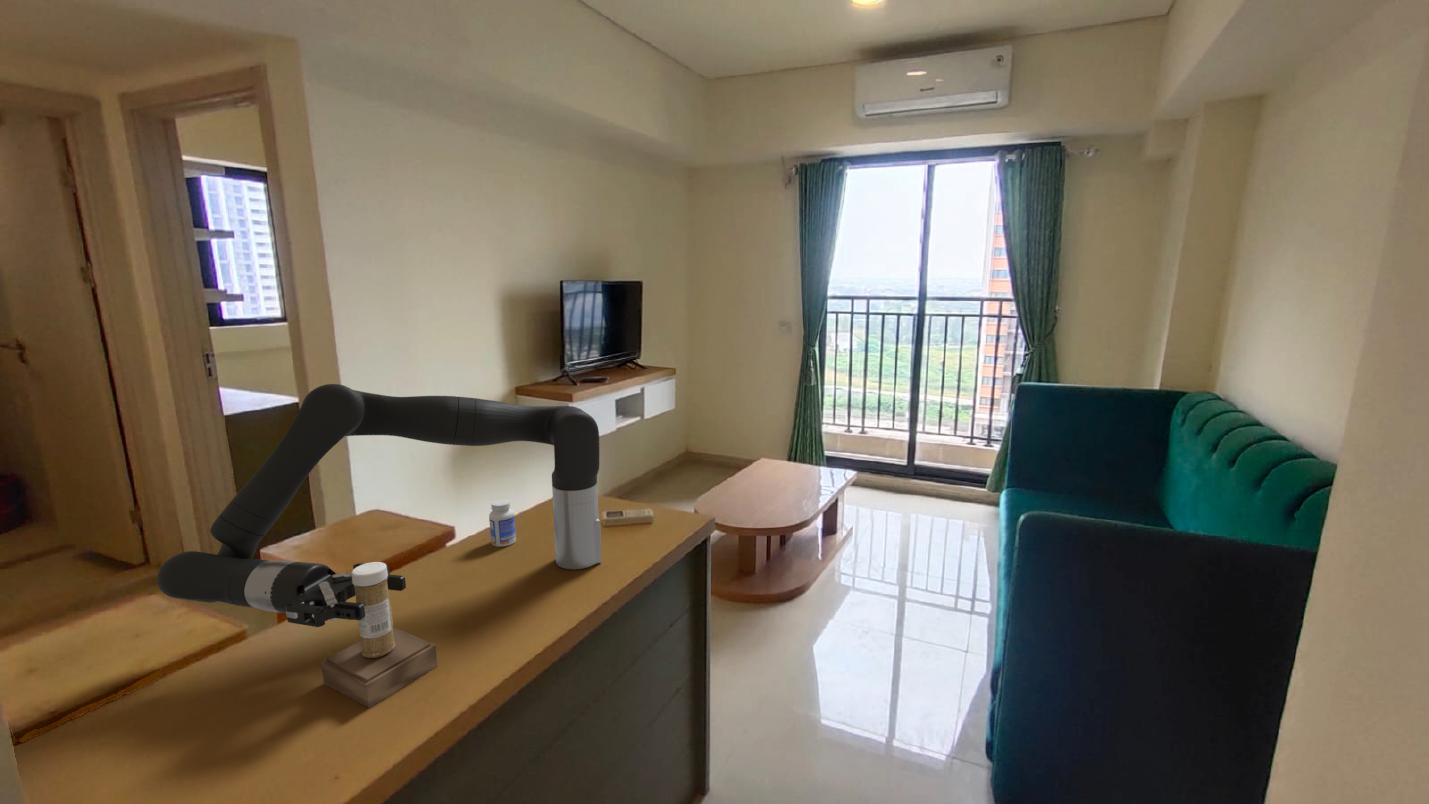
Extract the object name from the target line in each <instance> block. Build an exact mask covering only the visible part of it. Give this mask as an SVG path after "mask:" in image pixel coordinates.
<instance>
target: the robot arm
mask: <svg viewBox="0 0 1429 804" xmlns="http://www.w3.org/2000/svg"><path fill="white" fill-rule="evenodd" d="M352 436H355V437H356V436H357V437H358V436H388V437H389V436H391V437H399V438H405V439H411V440H415V441H421V442H426V443H433V444H441V445H447V446H448V445H450V446H452V445H453V446H465V447H466V446H468V447H481V446H482V447H484V446H485V447H486V446H493V445H499V444H506V443H511V442H531V443H539V444H546V445H551V446H553V452H554V454H553V455H554V458H553V459H554V470H553V471H552V473H551V489H552V490H551V491H552V493H551V494H552V509H553V528H554V530H553V531H554V547H555V548H554V553H555V564H556V565H557V566H558V567H559V568H562V569H565V570H582V569H587V568H590V567H592V566H595V565H597V564H602V539H601V538H602V536H601V534H602V533H601V520H600V518H599V501H598V500H599V498H598V493H599V492H598V474H599V471H600V432H599V426H598V424H597V422H596V419H595V418H593V417H592V415H590V414H588V413H587V412H586V411H584V410H583V409H581V408H579V407H576V406H573V405H559V406H558V405H553V406H552V405H551V406H550V405H547V406H546V405H545V406H543V405H542V406H541V405H540V406H539V405H537V406H535V405H534V406H531V405H520V404H515V403H510V402H504V401H497V400H490V399H483V398H477V397H469V396H468V397H466V396H455V395H418V396H417V395H416V396H415V395H414V396H392V395H383V394H378V393H371V392H365V391H360V390H355V389H352V388H350V387H348V386H346V385H344V384H339V383H337V384H336V383H327V384H323V385H320V386H317V387H315V388H313V389H312V390H311V391H310V392H308V393H307V395H306V396H305V397H304V399H303V401H302V404H301V407H300V408H299V410H298V412H297V414H296V416H295V417H294V419H293V421H292V423H291V425H290V426H289V429H288V430H287V432H285V434H284V436H283V438H282V439H281V440H280V442H279V443H278V445H277V446H276V447H275V449H274V450H273V451H272V453H271V454H270V455H269V457H268V458H267V459H266V460H265V461H264V462H263V464H262V465H261V466H260V467H259V468H258V469H257V471H256V472H254V474H253V475H252V476H251V477H250V478H249V479H248V481H247V482H245V484H244V485H243V486H242V487H241V489H240V490H239V491H238V492H237V493H236V494H235V496H234V497H233V498H232V500H230V502H229V503H228V504H227V506H226V507H225V508H224V509H223V510H222V511H221V512H220V514H219V516H217V518H216V519H215V520H214V522H213V523H212V524H211V527H210V530H209V531H210V534H211V536H212V537H213V538H214V539H215V540H217V542H219V543H221V545H220V549H219V550H218V552H217V554H215V553H209V552H203V551H198V550H197V551H195V550H191V551H190V550H189V551H183V552H179V553H177V554H175V555H173V556H171V557H170V558H168V559H167V560H166V561H165V562H163V564H161V566H160V568H159V570H158V572H157V575H156V581H157V582H156V583H157V586H158V588H159V590H160V592H162V593H163V594H164V595H165V596H168V597H170V598H172V599H178V600H180V599H181V600H185V601H186V600H187V601H194V602H202V603H208V604H209V603H218V602H221V603H224V604H229V605H233V606H239V607H245V608H255V609H259V610H262V611H265V612H273V613H280V614H281V613H282V614H286V620H287V623H289V624H290V623H291V624H297V625H303V626H307V627H314V628H321V627H324V626H325V625H326V621H327V622H328V621H331V622H333V621H337V620H338V619H339V620H340V619H341V620H348V621H351V620H352V621H358V620H361V619H363V618H364V617H365V609H364V605H363V604H361V603H356V602H351V601H348V600H349V599H352V598H356V595H355V587H354V584H353V583H352V571H353V570H354V569H355V568H356V567H358V566H360V565H363V564H364V563H361V562H360V563H354V564H353V565H352V571H349V572H341V573H340V572H339V573H337V572H335V571H334V570H332V568H331V567H330V566H328V565H326V564H322V563H314V562H305V561H297V560H295V561H293V560H284V559H283V560H282V559H281V560H267V559H258V558H257V559H256V558H254V555H255V553H256V551H257V548H258V546H259V543H260V542H261V540H262V539H263V538H264V537H265V535H266V534H267V533H268V532H269V530H270V529H272V527H273V525H274V524H275V523H276V521H278V520H279V518H280V516H281V515H282V514H283V512H284V511H285V509H287V507H288V506H289V504H290V503H291V501H292V500H293V498H294V496H295V495H296V494H297V493H298V490H299V489H300V487H301V486H302V484H303V483H304V481H305V480H306V478H307V477H308V476H309V474H310V473H311V472H312V470H313V469H314V468H315V467H316V465H317V464H318V463H319V462H320V461H321V460H322V459H323V458H324V457H325V455H326V454H327V453H328V452H329V451H331V449H332V448H334V447H335V446H336V444H338V443H339V442H340V441H341V440H342V439H344V438H345V437H352ZM386 566H387V572H388V577H387V578H388V579H387V585H388V591H395V592H397V591H399V592H402V591H403V590H405V589H406V587H407V584H406V583H407V582H406V577H405V576H404V575H399V574H398V575H397V574H391V573H390V565H388V564H386Z"/></svg>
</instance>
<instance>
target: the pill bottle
mask: <svg viewBox="0 0 1429 804" xmlns="http://www.w3.org/2000/svg"><path fill="white" fill-rule="evenodd" d="M490 509H491V510H492V511H490V513H489V515H488V519H489V520H488V521H489V532H490V543H491V545H492V546H494V547H497V548H499V547H500V548H501V547H504V548H505V547H508V546H510V545H513V544H515V542H516V541H517V536H516V535H517V533H516V524H515V523H516V522H515V511H514V510H513V509H512V508H511V502H510V500H509V499H497V500H494V501H492V502H491V508H490Z"/></svg>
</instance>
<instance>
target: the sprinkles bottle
mask: <svg viewBox="0 0 1429 804" xmlns="http://www.w3.org/2000/svg"><path fill="white" fill-rule="evenodd" d="M362 564H363V565H360V566H358V567H356V568H355V569H354V570H353V569H352V571H351V572H352V583H353V584H354V587H355V595H356V596H355V603H361V604H363V605H364V609H365V617H364V618H363V619H361V620H357V621H358V628H359V631H358V632H359V635H360V641H361V644H362V655H363V656H364V657H367V658H377V657H381V656H383V655H386V654H388V653H389V652H391V651H392V650H393V649H394V648H395V641H394V636H393V627H394V624H393V623H394V622H393V614H392V606H391V601H390V593H389V590H388V585H387V579H388V578H387V577H388V572H387V566H386V565H387V564H386V563H384V562H381V561H373V562H372V561H371V562H366V563H362Z"/></svg>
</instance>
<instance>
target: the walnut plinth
mask: <svg viewBox="0 0 1429 804" xmlns="http://www.w3.org/2000/svg"><path fill="white" fill-rule="evenodd" d="M393 636H394V641H395V648H394V649H393V650H392V651H391V652H389V653H388V654H386V655H383V656H381V657H377V658H367V657H364V656H363V655H362V644H361V640H360V641H357V642H356V643H354V644H352V645H350V646H348V647H346V648H345V649H342V650H339V652H337V653H335V654H333V655H330V656H329V657H327V658H326V659H323V660H322V661H321V662H320V664H321V673H322V679H323V684H324V685H325V686H328V687H329V688H331V689H332V690H335V691H336V692H339V693H341V694H342V695H344V696H346V697H348V698H349V699H351V700H353V701H355V702H357V703H358V704H360V705H363V706H365V707H366V708H368V709H371V708H372V707H374V706H375V705H377V704H378V703H380V702H381V701H383V700H385V699H386V698H388V697H390V696H391V695H393V694H394V693H397V691H400V690H401V689H403V688H404V687H406V686H408V685H409V684H411V683H412V682H414V681H416V680H417V679H419V678H421V677H422V676H424V675H426V674H427V673H428V672H430V671H432V670H434V669H436V668H437V667H438V657H437V647H436V644H434V643H432V642H430V641H427V640H425V639H422V638H421V637H418V636H415V635H413V634H410V633H408V632H406V631H404V630H401V629H399V628H396V627H394V626H393Z"/></svg>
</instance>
